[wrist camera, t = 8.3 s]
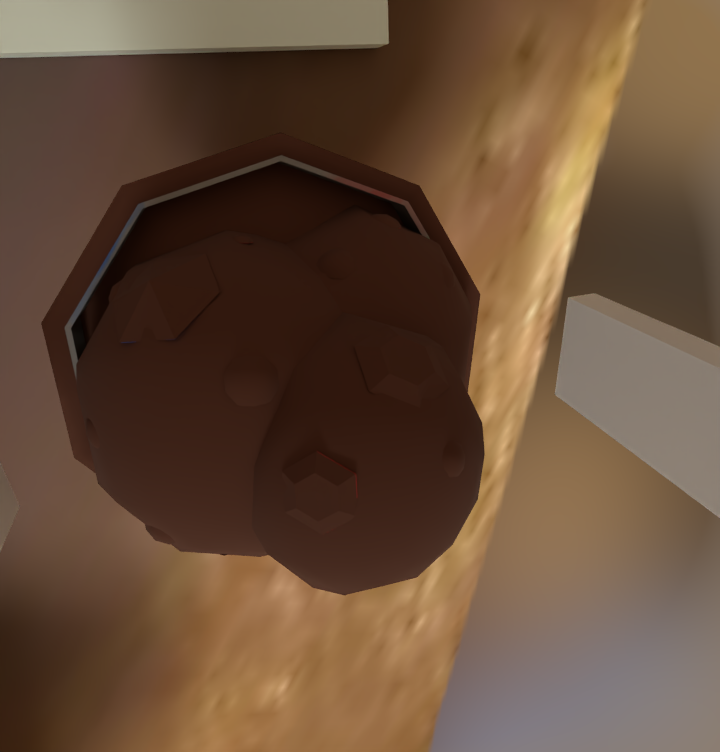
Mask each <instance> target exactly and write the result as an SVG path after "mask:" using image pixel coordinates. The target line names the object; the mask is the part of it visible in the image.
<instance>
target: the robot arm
mask: <svg viewBox="0 0 720 752" xmlns="http://www.w3.org/2000/svg"><path fill="white" fill-rule="evenodd" d="M555 395H556V396H557V397H559V398H560V399H561V400H563V401H564V402H566V403H567V404H568V405H570V406H571V407H572V408H573V409H575V410H576V411H578V412H579V413H580V414H581V415H583V416H584V417H585V418H587V419H588V420H590V421H591V422H592V423H594V424H595V425H596V426H598V427H599V428H600V429H602V430H603V431H604V432H606V433H607V434H608V435H610V436H611V437H612V438H614V439H615V440H616V441H618V442H619V443H621V444H622V445H623V446H624V447H626V448H627V449H628V450H630V451H631V452H632V453H634V454H635V455H636V456H638V457H639V458H640V459H642V460H643V461H644V462H646V463H647V464H648V465H650V466H651V467H652V468H654V469H655V470H656V471H658V472H659V473H660V474H662V475H663V476H664V477H666V478H667V479H668V480H670V481H671V482H672V483H674V484H675V485H676V486H678V487H679V488H680V489H682V490H683V491H684V492H686V493H687V494H688V495H690V496H691V497H692V498H694V499H695V500H696V501H698V502H699V503H700V504H702V505H703V506H704V507H706V508H707V509H708V510H710V511H711V512H713V513H714V514H715V515H717V516H718V517H719V518H720V347H719V346H716V345H714V344H712V343H709V342H707V341H705V340H702V339H700V338H698V337H695V336H693V335H691V334H688V333H686V332H684V331H681V330H679V329H676V328H674V327H672V326H670V325H667V324H665V323H662V322H660V321H658V320H656V319H653V318H651V317H649V316H646V315H644V314H642V313H639V312H637V311H635V310H632V309H630V308H627V307H625V306H623V305H621V304H618V303H616V302H614V301H611V300H609V299H607V298H604V297H602V296H600V295H597V294H595V293H594V294H587V295H582V296H575V297H569V298H568V303H567V310H566V318H565V324H564V332H563V339H562V347H561V354H560V361H559V369H558V376H557V383H556V390H555ZM19 507H20V505H19V503H18V500H17V498H16V496H15V494H14V491H13V489H12V487H11V485H10V482H9V480H8V478H7V476H6V474H5V471H4V469H3V467H2V465H1V462H0V551H1V549H2V547H3V544H4V542H5V540H6V537H7V535H8V533H9V530H10V528H11V526H12V523H13V521H14V519H15V516H16V514H17V512H18V509H19Z"/></svg>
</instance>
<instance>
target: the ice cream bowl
mask: <svg viewBox="0 0 720 752" xmlns="http://www.w3.org/2000/svg"><path fill="white" fill-rule="evenodd" d="M479 300H480V293H479V291H478V290H477V288H476V286H475V284H474V282H473V281H472V279H471V277H470V275H469V273H468V272H467V270H466V268H465V266H464V265H463V263H462V261H461V259H460V257H459V256H458V254H457V252H456V250H455V249H454V247H453V245H452V243H451V241H450V240H449V238H448V236H447V234H446V232H445V231H444V229H443V227H442V225H441V224H440V222H439V220H438V218H437V216H436V215H435V213H434V211H433V209H432V207H431V206H430V204H429V202H428V200H427V199H426V197H425V195H424V193H423V191H422V190H421V188H420V186H419V185H416V184H413V183H411V182H408V181H406V180H403V179H400V178H398V177H395V176H393V175H390V174H387V173H385V172H382V171H379V170H377V169H374V168H372V167H369V166H366V165H364V164H361V163H359V162H356V161H353V160H351V159H348V158H346V157H343V156H340V155H338V154H335V153H333V152H330V151H327V150H325V149H322V148H320V147H317V146H314V145H312V144H309V143H306V142H304V141H301V140H299V139H296V138H293V137H291V136H288V135H286V134H283V133H278V134H275V135H272V136H269V137H266V138H263V139H260V140H257V141H254V142H251V143H248V144H245V145H242V146H239V147H236V148H233V149H230V150H227V151H224V152H221V153H218V154H215V155H212V156H209V157H206V158H203V159H200V160H197V161H194V162H191V163H188V164H185V165H182V166H179V167H176V168H173V169H170V170H167V171H165V172H162V173H159V174H156V175H153V176H150V177H147V178H144V179H141V180H138V181H135V182H132V183H129V184H126V185H123V186H121V188H120V190H119V191H118V193H117V195H116V197H115V198H114V200H113V202H112V203H111V205H110V207H109V208H108V210H107V212H106V214H105V215H104V217H103V219H102V220H101V222H100V224H99V226H98V227H97V229H96V231H95V232H94V234H93V236H92V238H91V239H90V241H89V243H88V244H87V246H86V248H85V250H84V251H83V253H82V255H81V256H80V258H79V260H78V261H77V263H76V265H75V267H74V268H73V270H72V272H71V273H70V275H69V277H68V279H67V280H66V282H65V284H64V285H63V287H62V289H61V291H60V292H59V294H58V296H57V297H56V299H55V301H54V303H53V304H52V306H51V308H50V309H49V311H48V313H47V314H46V316H45V318H44V320H43V321H42V323H41V324H42V328H43V332H44V336H45V340H46V344H47V348H48V352H49V357H50V361H51V365H52V369H53V373H54V377H55V381H56V385H57V389H58V393H59V397H60V402H61V406H62V410H63V414H64V418H65V422H66V426H67V430H68V434H69V438H70V442H71V446H72V451H73V455H74V458H75V459H77V460H78V461H80V462H81V463H82V464H84V465H85V466H86V467H88V468H89V469H91V470H92V471H93V472H95V473H96V476H97V480H98V484H99V485H100V486H101V487H102V488H103V489H104V490H105V491H106V492H107V493H108V494H109V495H110V496H111V497H112V498H113V499H114V500H115V501H116V502H117V503H118V504H120V505H121V506H122V507H124V508H125V509H126V510H127V511H129V512H130V513H131V514H133V515H134V516H135V517H137V518H138V519H139V520H140V521H142V522H143V523H144V524H145V526H146V530H147V531H148V532H149V533H150V535H151V536H152V537H153V538H154V539H155V540H156V541H160V542H163V543H167V544H172V545H173V546H174V547H175V548H177V549H178V550H179V551H182V552H197V553H212V554H221V555H224V556H225V555H242V556H257V557H261V556H265V555H270V556H271V557H272V558H274V559H275V560H276V561H278V562H279V563H281V564H282V565H283V566H285V567H286V568H287V569H289V570H290V571H291V572H293V573H294V574H295V575H297V576H298V577H299V578H301V579H302V580H303V581H305V582H306V583H307V584H309V585H310V586H311V587H313V588H316V589H321V590H325V591H329V592H333V593H337V594H342V595H347V594H351V593H355V592H359V591H364V590H368V589H372V588H376V587H380V586H384V585H388V584H392V583H396V582H400V581H404V580H408V579H412V578H416V577H418V576H419V575H420V574H421V573H422V572H423V571H424V570H425V569H426V568H427V567H429V566H430V565H431V564H432V563H433V562H434V561H435V560H436V559H437V558H438V557H439V556H441V555H442V554H443V553H444V552H445V551H446V550H447V549H448V548H449V547H450V546H452V545H453V543H454V541H455V539H456V537H457V536H458V534H459V532H460V530H461V528H462V527H463V525H464V523H465V521H466V519H467V518H468V516H469V514H470V512H471V510H472V509H473V507H474V505H475V503H476V501H477V499H478V493H479V487H480V480H481V474H482V467H483V461H484V441H483V428H482V422H481V420H480V418H479V416H478V413H477V411H476V409H475V407H474V405H473V403H472V401H471V399H470V397H469V395H468V385H469V377H470V370H471V362H472V354H473V346H474V339H475V331H476V323H477V315H478V308H479Z"/></svg>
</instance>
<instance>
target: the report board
mask: <svg viewBox="0 0 720 752" xmlns="http://www.w3.org/2000/svg"><path fill="white" fill-rule="evenodd" d="M387 44H389V31H388V0H0V58H20V57H58V56H96V55H134V54H172V53H209V52H247V51H285V50H323V49H361V48H379V47H382V46H384V45H387Z"/></svg>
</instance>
